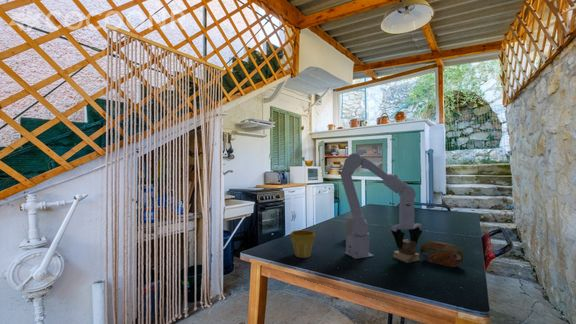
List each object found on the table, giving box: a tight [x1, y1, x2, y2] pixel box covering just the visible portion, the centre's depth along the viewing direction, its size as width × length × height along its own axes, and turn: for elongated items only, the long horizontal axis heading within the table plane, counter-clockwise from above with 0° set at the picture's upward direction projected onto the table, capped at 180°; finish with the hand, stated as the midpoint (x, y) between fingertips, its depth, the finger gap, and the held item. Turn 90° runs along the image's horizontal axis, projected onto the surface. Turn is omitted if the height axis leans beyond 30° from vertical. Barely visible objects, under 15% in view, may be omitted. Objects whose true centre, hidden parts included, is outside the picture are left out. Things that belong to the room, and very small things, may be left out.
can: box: [344, 216, 354, 240], centre depth 140 cm, size 8×8×12 cm
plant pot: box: [290, 229, 316, 259], centre depth 116 cm, size 10×10×10 cm
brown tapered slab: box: [419, 240, 465, 268], centre depth 108 cm, size 15×3×8 cm, turn 48°
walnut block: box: [398, 238, 417, 255], centre depth 112 cm, size 4×4×5 cm
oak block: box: [393, 250, 420, 264], centre depth 113 cm, size 7×7×3 cm
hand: (406, 247), depth 113 cm, fingers open, 7 cm apart
